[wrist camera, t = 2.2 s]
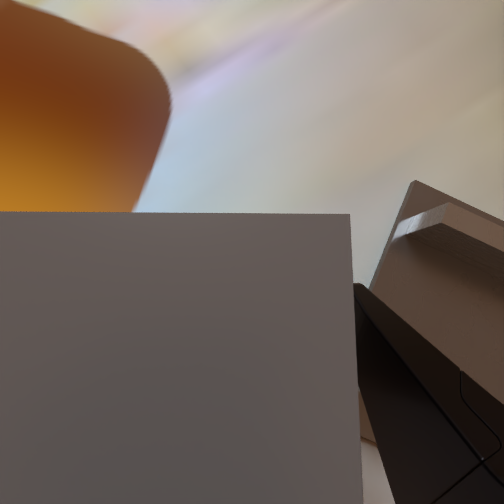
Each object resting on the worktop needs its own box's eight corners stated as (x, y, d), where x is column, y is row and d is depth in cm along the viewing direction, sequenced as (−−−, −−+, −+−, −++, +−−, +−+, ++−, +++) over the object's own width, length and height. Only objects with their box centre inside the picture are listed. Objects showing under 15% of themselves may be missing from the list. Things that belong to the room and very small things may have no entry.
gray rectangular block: (257, 364, 16) (368, 621, 4) (154, 367, 16) (-132, 664, 3) (256, 266, 17) (349, 186, 4) (156, 267, 17) (-79, 180, 4)
